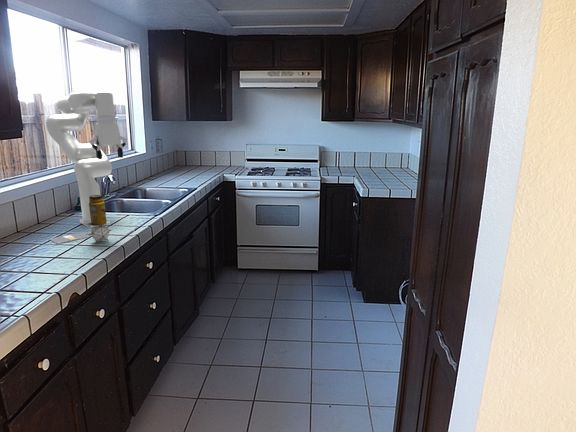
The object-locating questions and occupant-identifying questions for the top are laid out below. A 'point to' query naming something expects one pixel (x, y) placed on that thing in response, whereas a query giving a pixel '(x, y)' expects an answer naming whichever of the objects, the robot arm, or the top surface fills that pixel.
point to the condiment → (97, 211)
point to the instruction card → (69, 238)
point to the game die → (100, 233)
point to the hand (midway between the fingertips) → (110, 158)
